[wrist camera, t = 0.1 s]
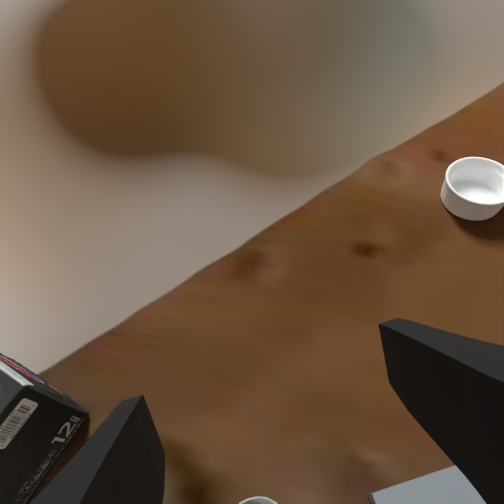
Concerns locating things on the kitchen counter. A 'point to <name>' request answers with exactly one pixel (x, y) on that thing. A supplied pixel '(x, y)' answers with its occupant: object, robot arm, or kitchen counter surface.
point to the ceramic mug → (258, 500)
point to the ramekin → (474, 188)
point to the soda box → (31, 429)
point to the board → (431, 490)
